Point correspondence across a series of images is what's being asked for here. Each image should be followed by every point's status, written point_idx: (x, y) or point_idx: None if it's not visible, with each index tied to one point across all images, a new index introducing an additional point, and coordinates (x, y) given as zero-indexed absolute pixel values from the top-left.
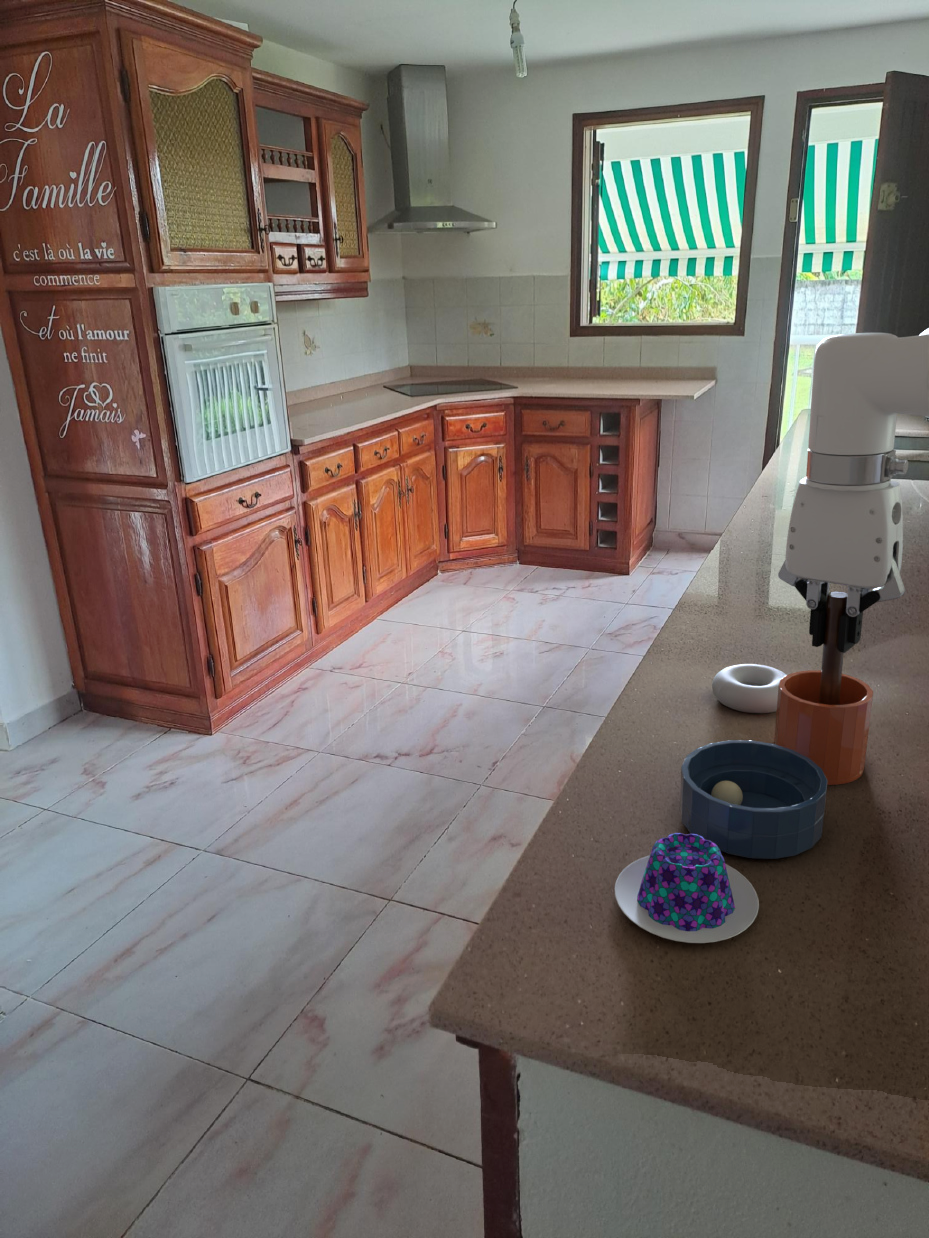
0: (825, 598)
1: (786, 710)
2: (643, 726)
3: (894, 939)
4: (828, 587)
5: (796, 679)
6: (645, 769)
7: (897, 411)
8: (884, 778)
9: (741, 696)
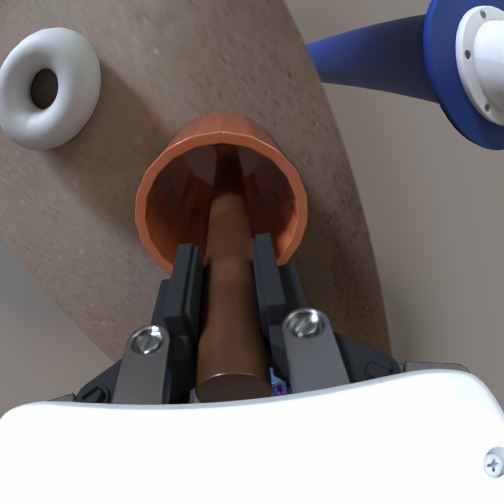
0: (180, 367)
1: None
2: (39, 248)
3: (376, 337)
4: (166, 381)
5: (148, 200)
6: (112, 308)
7: None
8: (304, 146)
9: (57, 143)
